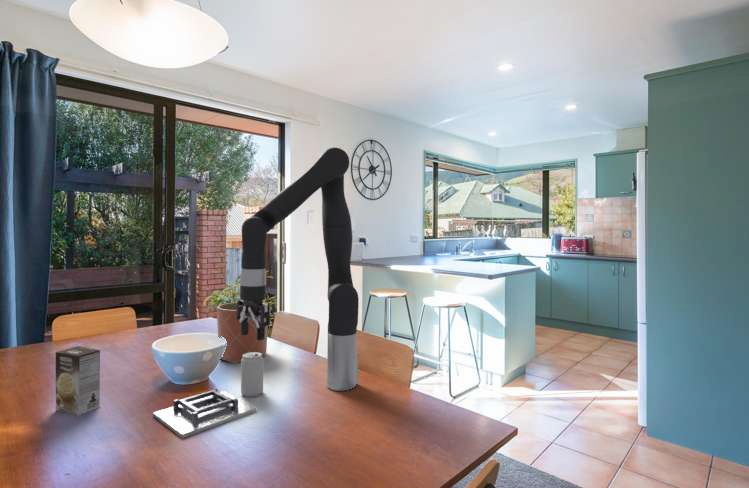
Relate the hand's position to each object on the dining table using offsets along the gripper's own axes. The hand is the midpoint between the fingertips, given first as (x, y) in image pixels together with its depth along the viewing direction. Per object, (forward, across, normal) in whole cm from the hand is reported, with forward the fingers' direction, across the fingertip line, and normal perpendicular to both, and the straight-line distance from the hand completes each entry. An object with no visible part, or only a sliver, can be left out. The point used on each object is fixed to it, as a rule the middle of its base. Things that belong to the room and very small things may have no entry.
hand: (252, 337), depth 124 cm
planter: (+18, +35, -18) cm, 43 cm away
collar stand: (+17, -3, +16) cm, 24 cm away
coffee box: (+18, +25, +38) cm, 49 cm away
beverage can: (+17, 0, 0) cm, 17 cm away
